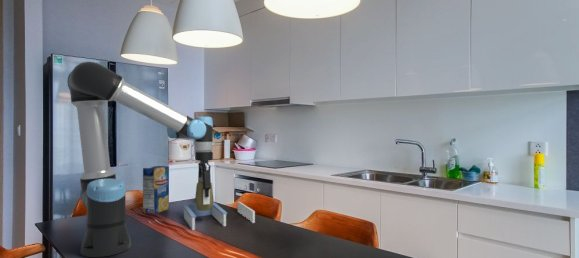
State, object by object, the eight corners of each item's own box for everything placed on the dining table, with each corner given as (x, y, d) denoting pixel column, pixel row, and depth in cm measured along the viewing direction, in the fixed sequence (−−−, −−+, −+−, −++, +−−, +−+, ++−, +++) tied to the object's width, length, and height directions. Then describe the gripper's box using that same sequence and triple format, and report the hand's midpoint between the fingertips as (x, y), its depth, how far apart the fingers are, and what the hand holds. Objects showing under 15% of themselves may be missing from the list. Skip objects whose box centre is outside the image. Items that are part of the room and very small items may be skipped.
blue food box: (142, 212, 168) (142, 168, 168) (157, 207, 179) (158, 165, 179) (154, 213, 166) (154, 168, 166) (168, 208, 177) (169, 166, 177)
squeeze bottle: (209, 212, 148) (209, 170, 148) (191, 211, 149) (191, 170, 149) (216, 207, 156) (216, 168, 156) (199, 207, 157) (199, 168, 157)
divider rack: (254, 222, 151) (254, 209, 151) (191, 230, 139) (191, 215, 139) (239, 211, 172) (239, 199, 172) (182, 217, 160) (182, 204, 160)
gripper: (218, 152, 145) (218, 206, 145) (207, 149, 163) (207, 197, 163) (200, 153, 141) (200, 208, 141) (191, 150, 160) (191, 198, 160)
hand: (204, 202), depth 152 cm, fingers closed on squeeze bottle, 8 cm apart
